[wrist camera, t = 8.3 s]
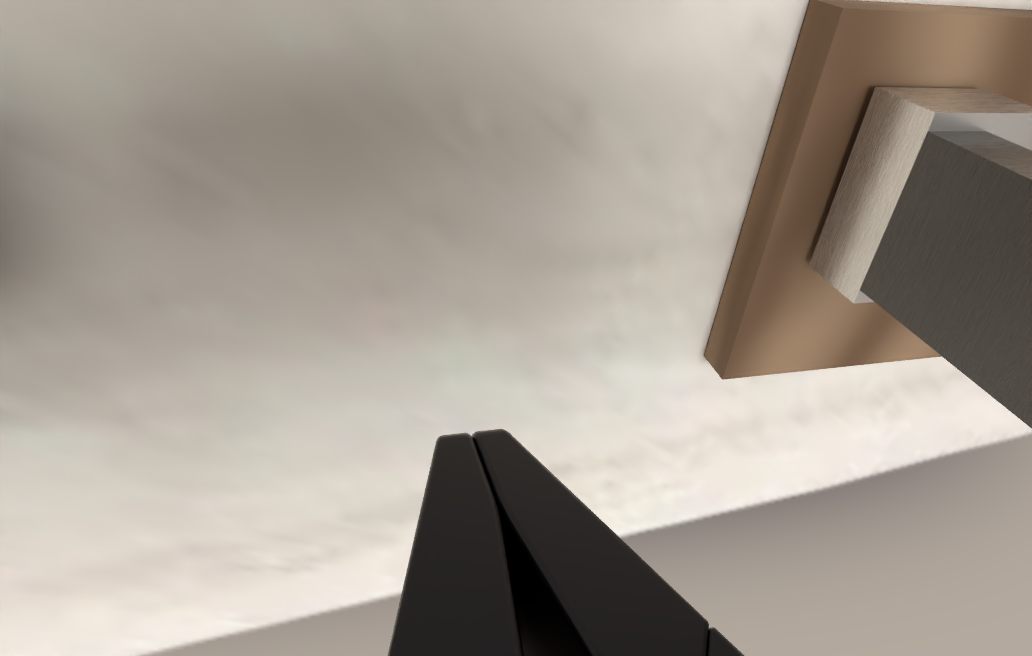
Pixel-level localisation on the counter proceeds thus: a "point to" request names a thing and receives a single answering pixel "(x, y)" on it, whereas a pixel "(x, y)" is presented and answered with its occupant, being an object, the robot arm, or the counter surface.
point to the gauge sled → (943, 229)
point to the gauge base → (820, 166)
